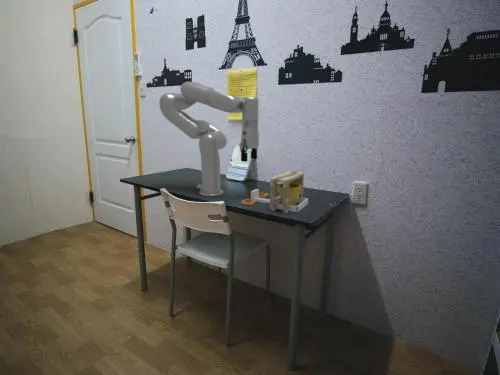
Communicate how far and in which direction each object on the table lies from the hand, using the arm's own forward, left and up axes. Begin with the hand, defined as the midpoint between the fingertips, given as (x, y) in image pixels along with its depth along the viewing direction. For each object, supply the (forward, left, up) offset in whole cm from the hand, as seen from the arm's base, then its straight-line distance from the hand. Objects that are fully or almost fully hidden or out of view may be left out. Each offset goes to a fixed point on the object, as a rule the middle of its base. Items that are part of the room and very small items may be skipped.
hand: (249, 160), depth 146 cm
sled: (+16, -3, -19) cm, 25 cm away
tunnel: (+21, -3, -19) cm, 29 cm away
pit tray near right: (+5, -10, -19) cm, 22 cm away
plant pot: (+22, -3, -19) cm, 30 cm away
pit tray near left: (+5, +4, -19) cm, 20 cm away
